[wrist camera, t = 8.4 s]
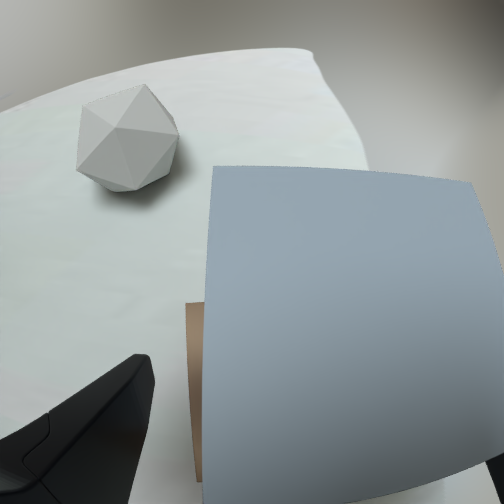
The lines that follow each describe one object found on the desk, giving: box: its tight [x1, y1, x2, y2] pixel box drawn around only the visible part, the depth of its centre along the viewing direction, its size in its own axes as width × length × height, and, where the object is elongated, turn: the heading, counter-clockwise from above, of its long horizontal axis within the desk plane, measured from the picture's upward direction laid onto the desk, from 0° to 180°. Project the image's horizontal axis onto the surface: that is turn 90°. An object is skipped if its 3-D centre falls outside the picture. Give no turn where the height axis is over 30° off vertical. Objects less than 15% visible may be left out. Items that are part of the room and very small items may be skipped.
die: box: [76, 84, 179, 192], centre depth 23 cm, size 8×9×10 cm
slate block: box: [202, 166, 504, 504], centre depth 10 cm, size 5×5×13 cm
